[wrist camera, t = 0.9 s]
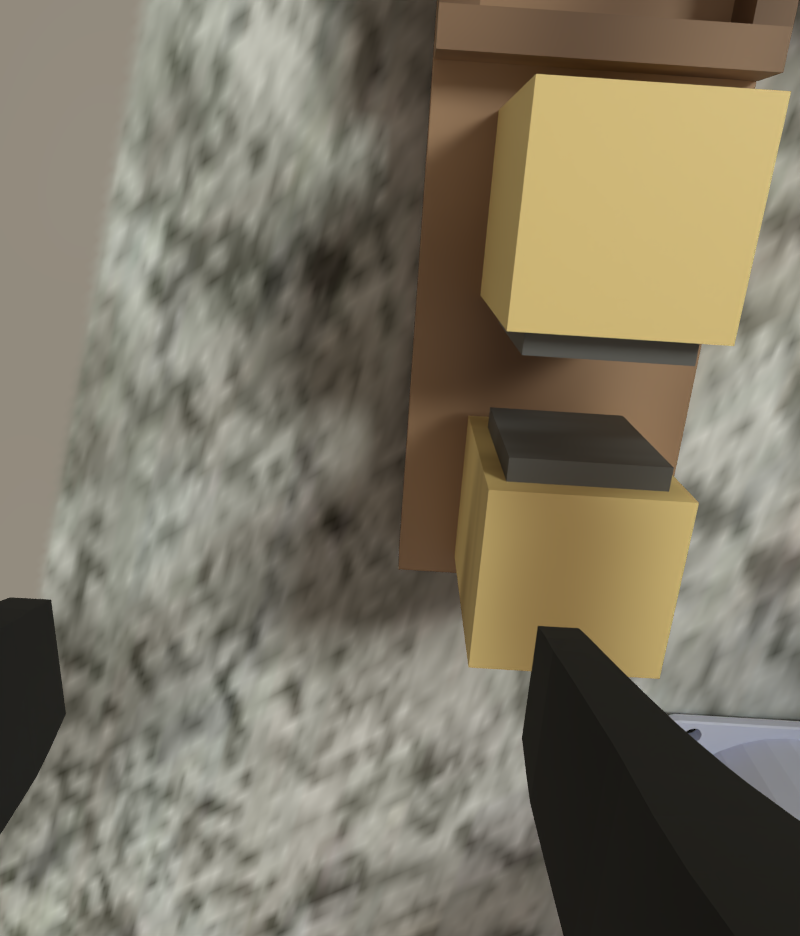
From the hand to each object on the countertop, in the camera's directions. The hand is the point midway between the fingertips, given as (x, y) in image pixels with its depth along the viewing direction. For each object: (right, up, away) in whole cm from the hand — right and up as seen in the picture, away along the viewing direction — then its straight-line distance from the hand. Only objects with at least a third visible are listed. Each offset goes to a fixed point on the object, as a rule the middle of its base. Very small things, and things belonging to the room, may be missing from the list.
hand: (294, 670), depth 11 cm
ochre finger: (+6, +9, +6) cm, 12 cm away
